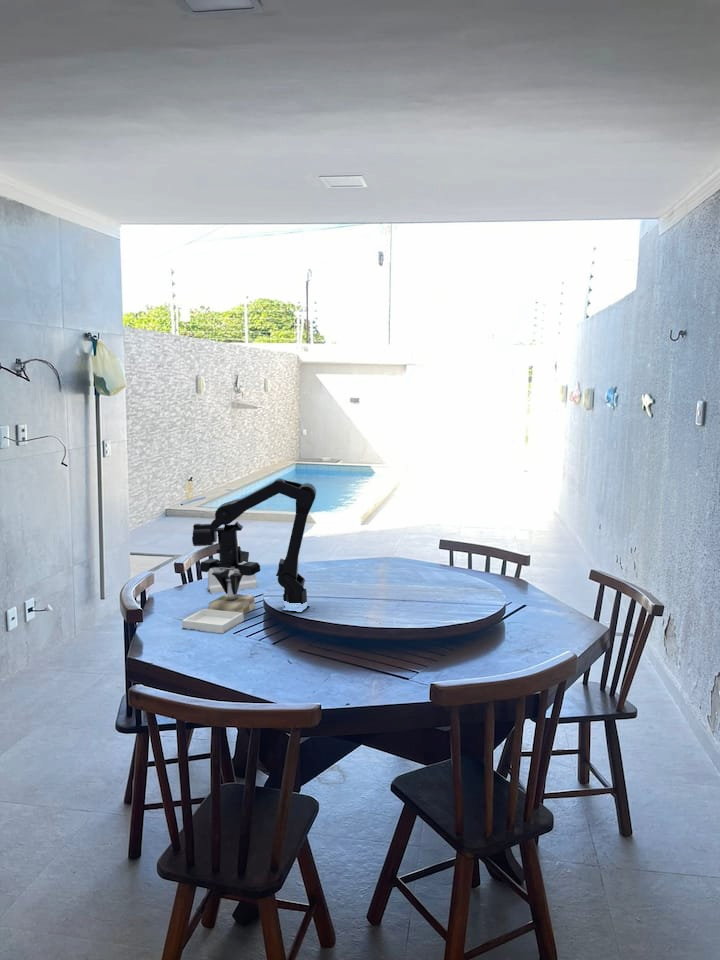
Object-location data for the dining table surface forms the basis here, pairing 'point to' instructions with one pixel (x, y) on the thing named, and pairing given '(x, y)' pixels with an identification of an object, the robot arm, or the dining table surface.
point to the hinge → (245, 581)
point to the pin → (230, 589)
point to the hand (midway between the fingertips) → (231, 594)
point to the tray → (213, 620)
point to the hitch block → (233, 604)
